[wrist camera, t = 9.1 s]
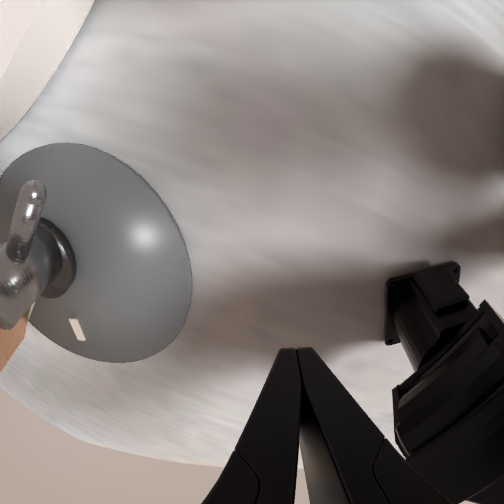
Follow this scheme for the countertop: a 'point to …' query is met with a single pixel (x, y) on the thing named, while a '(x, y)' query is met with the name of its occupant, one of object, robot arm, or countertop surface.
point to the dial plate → (105, 254)
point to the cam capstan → (30, 266)
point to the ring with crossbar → (33, 50)
